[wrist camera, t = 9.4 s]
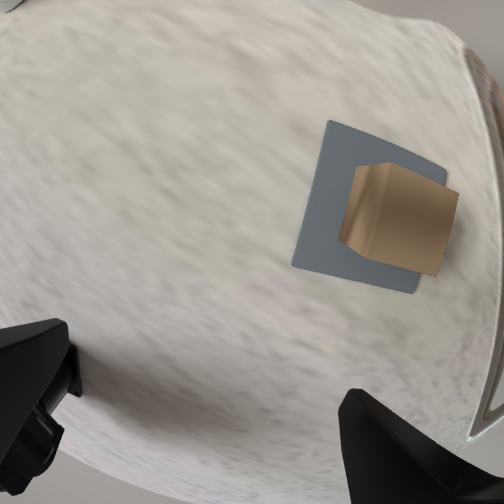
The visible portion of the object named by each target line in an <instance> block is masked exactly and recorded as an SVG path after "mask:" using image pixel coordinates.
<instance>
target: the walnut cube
mask: <svg viewBox="0 0 504 504" xmlns="http://www.w3.org/2000/svg"><path fill="white" fill-rule="evenodd" d="M458 196H459V193H457V192H455V191H453V190H451V189H449V188H447V187H445V186H443V185H441V184H439V183H437V182H435V181H433V180H430V179H428V178H426V177H424V176H422V175H419V174H417V173H415V172H413V171H410V170H408V169H406V168H403V167H401V166H399V165H396V164H394V163H391V162H389V163H381V164H374V165H366V166H359V167H356V170H355V174H354V179H353V183H352V187H351V191H350V195H349V199H348V203H347V207H346V211H345V215H344V219H343V222H342V226H341V230H340V233H339V237H338V240H339V241H341V242H342V243H344V244H345V245H347V246H348V247H350V248H351V249H353V250H354V251H356V252H357V253H359V254H360V255H362V256H363V257H365V258H366V259H370V260H374V261H378V262H382V263H386V264H389V265H393V266H397V267H401V268H405V269H408V270H412V271H416V272H419V273H423V274H427V275H430V276H434V277H437V274H438V271H439V268H440V265H441V262H442V259H443V256H444V252H445V249H446V245H447V242H448V238H449V235H450V231H451V227H452V223H453V219H454V214H455V210H456V206H457V201H458Z"/></svg>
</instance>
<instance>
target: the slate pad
mask: <svg viewBox="0 0 504 504" xmlns="http://www.w3.org/2000/svg"><path fill="white" fill-rule="evenodd" d="M389 162H391V163H394V164H396V165H399V166H401V167H403V168H406V169H408V170H410V171H413V172H415V173H417V174H419V175H422V176H424V177H426V178H428V179H430V180H433V181H435V182H437V183H439V184H441V185H443V186H444V181H445V175H446V169H444V168H443V167H441V166H439V165H437V164H435V163H433V162H431V161H429V160H427V159H425V158H423V157H421V156H419V155H417V154H414V153H412V152H410V151H408V150H406V149H404V148H401V147H399V146H397V145H395V144H392V143H390V142H388V141H385V140H383V139H380V138H378V137H375V136H373V135H370V134H368V133H365V132H363V131H360V130H357V129H355V128H352V127H349V126H346V125H343V124H341V123H338V122H335V121H332V120H329V121H327V126H326V130H325V135H324V139H323V143H322V148H321V152H320V156H319V160H318V164H317V168H316V172H315V176H314V180H313V184H312V188H311V192H310V196H309V200H308V204H307V208H306V212H305V215H304V219H303V223H302V227H301V230H300V234H299V238H298V241H297V245H296V249H295V252H294V256H293V259H292V263H291V265H292V266H293V267H297V268H301V269H306V270H310V271H314V272H319V273H323V274H327V275H331V276H336V277H340V278H344V279H349V280H353V281H358V282H362V283H366V284H371V285H375V286H379V287H384V288H388V289H392V290H397V291H401V292H406V293H410V294H413V291H414V288H415V286H416V283H417V280H418V277H419V274H420V273H419V272H416V271H412V270H408V269H405V268H401V267H397V266H393V265H389V264H386V263H382V262H378V261H374V260H370V259H366V258H365V257H363V256H362V255H360V254H359V253H357V252H356V251H354V250H353V249H351V248H350V247H348V246H347V245H345V244H344V243H342V242H341V241H339V240H338V237H339V233H340V230H341V226H342V222H343V219H344V215H345V211H346V207H347V203H348V199H349V195H350V191H351V187H352V183H353V179H354V174H355V170H356V167H359V166H366V165H374V164H381V163H389Z"/></svg>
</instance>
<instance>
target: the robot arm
mask: <svg viewBox="0 0 504 504" xmlns="http://www.w3.org/2000/svg"><path fill="white" fill-rule="evenodd" d="M67 392H68V393H70V394H72V395H74V396H76V397H81V396H82V387H81V379H80V372H79V363H78V353H77V349H76V347H75V346H73V345H71V344H69V333H68V325H67V323H66V322H65V321H63V320H60V319H58V318H54V319H49V320H44V321H39V322H34V323H29V324H24V325H18V326H13V327H8V328H3V329H0V492H5V491H7V492H8V493H9V494H10V495H12V496H15V495H18V494H21V493H23V492H24V491H25V489H26V487H27V486H28V484H29V483H30V481H31V480H32V478H33V477H37V476H39V475H41V474H42V473H44V472H45V471H46V470H47V469H48V467H49V466H50V465H51V463H52V462H53V460H54V457H55V454H56V451H57V449H58V446H59V443H60V441H61V438H62V435H63V433H64V430H65V429H64V428H63V427H62V426H61V425H59V424H58V423H57V422H56V421H55V420H54V419H53V418H52V417H51V416H50V415H51V414H52V412H53V411H54V409H55V408H56V407H57V405H58V404H59V403H60V401H61V400H62V399H63V398H64V396H65V395H66V394H67ZM338 417H339V427H340V439H341V450H342V456H343V461H344V466H345V472H346V477H347V482H348V488H349V493H350V499H351V504H504V478H501V477H496V476H494V475H491V474H489V473H487V472H485V471H483V470H481V469H480V468H478V467H476V466H474V465H472V464H470V463H468V462H466V461H465V460H463V459H461V458H459V457H457V456H456V455H454V454H453V453H451V452H450V451H448V450H447V449H445V448H444V447H442V446H441V445H439V444H437V443H436V442H435V441H433V440H432V439H430V438H429V437H428V436H426V435H425V434H423V433H422V432H420V431H419V430H418V429H416V428H415V427H413V426H412V425H411V424H409V423H408V422H406V421H405V420H404V419H402V418H401V417H399V416H398V415H397V414H395V413H394V412H392V411H391V410H390V409H388V408H387V407H386V406H384V405H383V404H382V403H380V402H379V401H378V400H376V399H375V398H374V397H372V396H371V395H370V394H368V393H367V392H366V391H364V390H363V389H354V388H352V389H350V390H349V391H348V392H347V394H346V396H345V398H344V399H343V401H342V403H341V405H340V407H339V410H338Z"/></svg>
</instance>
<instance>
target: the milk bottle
mask: <svg viewBox="0 0 504 504" xmlns="http://www.w3.org/2000/svg"><path fill="white" fill-rule="evenodd" d="M22 1H23V0H0V13H5V12H8V11H10V10H12V9H13V8H15V7H16V6H17V5H18V4H19V3H21V2H22Z"/></svg>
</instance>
